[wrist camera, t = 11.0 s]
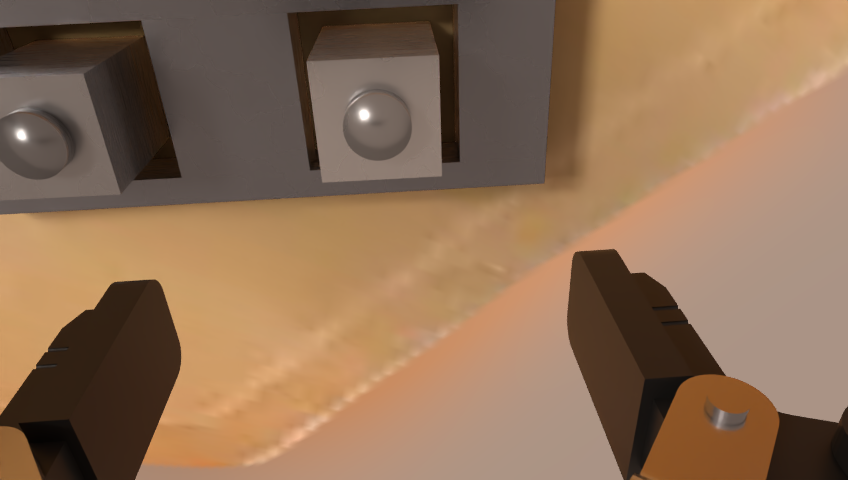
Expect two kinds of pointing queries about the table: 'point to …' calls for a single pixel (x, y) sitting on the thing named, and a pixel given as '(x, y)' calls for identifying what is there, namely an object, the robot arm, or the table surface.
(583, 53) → the table surface
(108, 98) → the knobbed grey cube
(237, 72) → the grey slotted board
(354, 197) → the table surface
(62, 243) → the table surface
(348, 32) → the cube with silver knob
